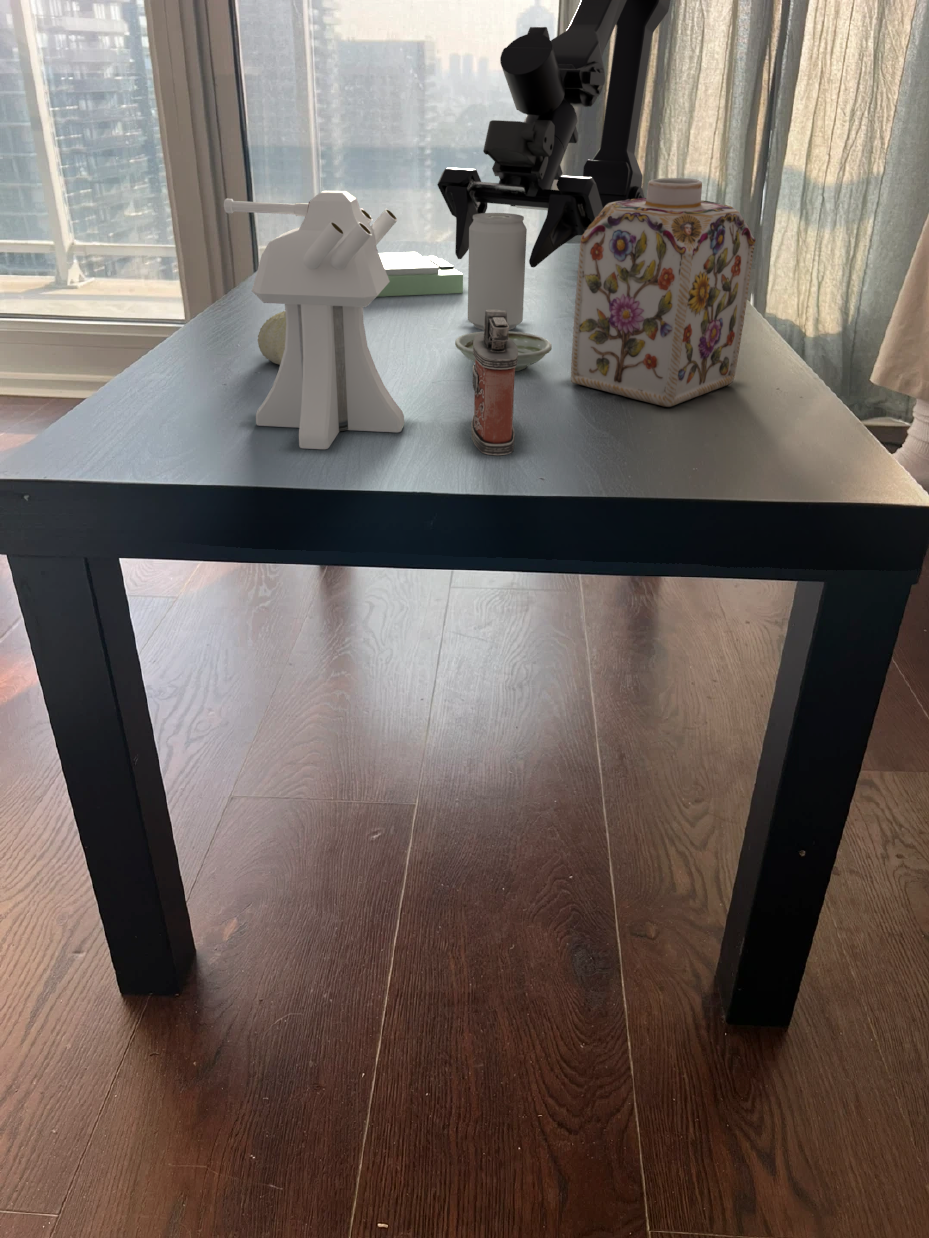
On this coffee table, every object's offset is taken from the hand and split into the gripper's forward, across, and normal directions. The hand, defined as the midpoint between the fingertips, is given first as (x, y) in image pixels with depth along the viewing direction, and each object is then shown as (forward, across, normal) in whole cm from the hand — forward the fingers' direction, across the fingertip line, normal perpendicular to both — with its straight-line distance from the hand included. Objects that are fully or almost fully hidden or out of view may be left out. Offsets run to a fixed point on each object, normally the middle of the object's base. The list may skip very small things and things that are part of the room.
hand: (494, 260), depth 109 cm
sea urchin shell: (+22, -10, -11) cm, 26 cm away
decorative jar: (+14, +24, -3) cm, 28 cm away
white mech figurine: (+33, +4, -22) cm, 39 cm away
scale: (-5, -23, +15) cm, 28 cm away
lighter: (+30, +17, -19) cm, 39 cm away
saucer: (+15, +8, -5) cm, 18 cm away
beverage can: (+5, 0, +6) cm, 8 cm away
